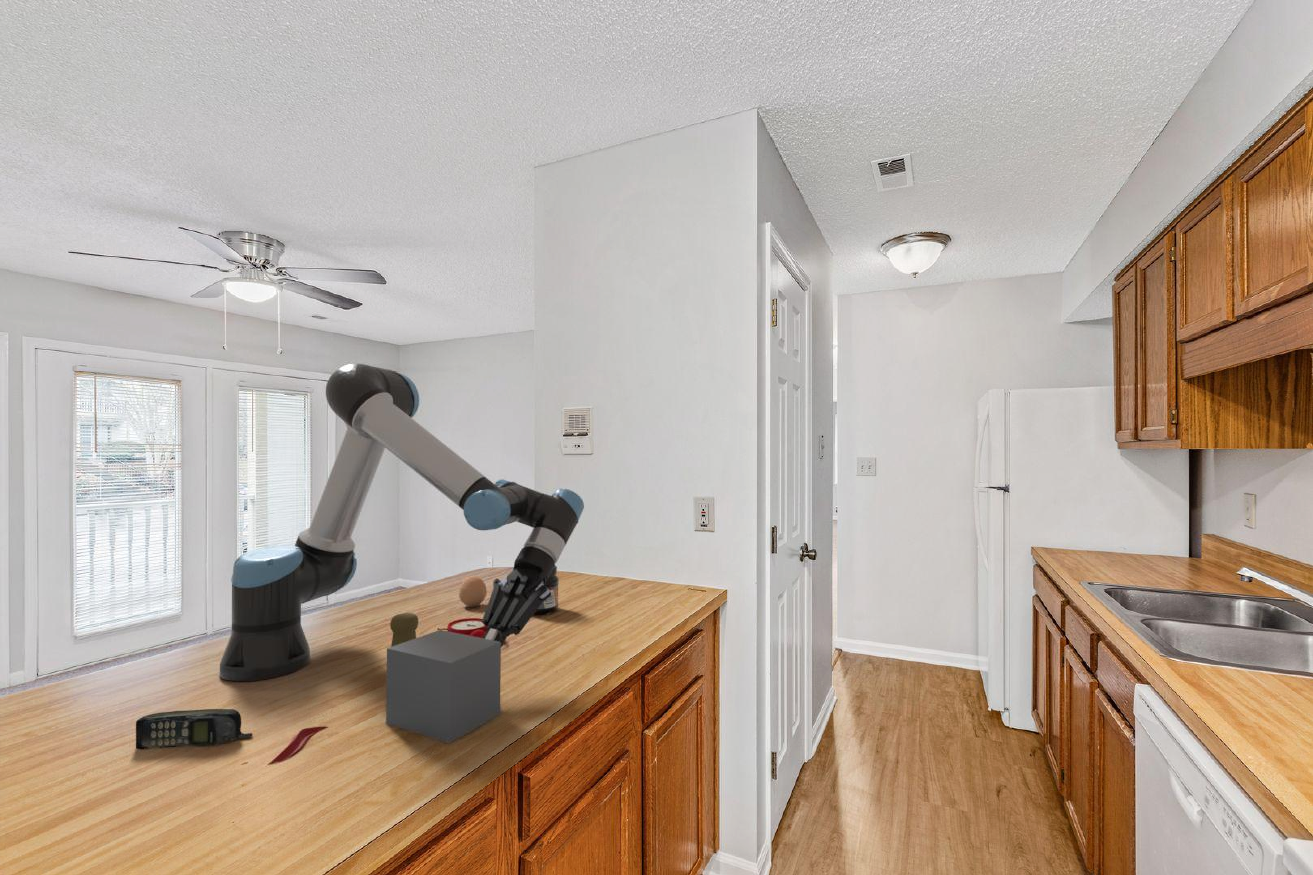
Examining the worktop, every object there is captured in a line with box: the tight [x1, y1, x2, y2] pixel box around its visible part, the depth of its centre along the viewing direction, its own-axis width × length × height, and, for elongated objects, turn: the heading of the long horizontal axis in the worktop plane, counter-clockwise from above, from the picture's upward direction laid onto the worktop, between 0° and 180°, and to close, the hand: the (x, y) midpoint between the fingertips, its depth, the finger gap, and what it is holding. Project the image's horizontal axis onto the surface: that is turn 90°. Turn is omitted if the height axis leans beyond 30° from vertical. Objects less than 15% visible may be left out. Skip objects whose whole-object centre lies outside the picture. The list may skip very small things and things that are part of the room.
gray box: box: [385, 630, 502, 744], centre depth 96 cm, size 11×14×12 cm
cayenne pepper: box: [267, 726, 328, 766], centre depth 88 cm, size 12×5×2 cm, turn 161°
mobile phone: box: [135, 708, 253, 750], centre depth 88 cm, size 5×3×15 cm
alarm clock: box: [436, 617, 487, 638], centre depth 134 cm, size 10×6×15 cm
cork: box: [389, 612, 419, 647], centre depth 117 cm, size 6×6×11 cm
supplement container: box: [533, 564, 560, 616], centre depth 160 cm, size 10×10×12 cm
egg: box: [458, 575, 488, 608], centre depth 164 cm, size 7×7×8 cm
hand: (479, 666), depth 103 cm, fingers closed
